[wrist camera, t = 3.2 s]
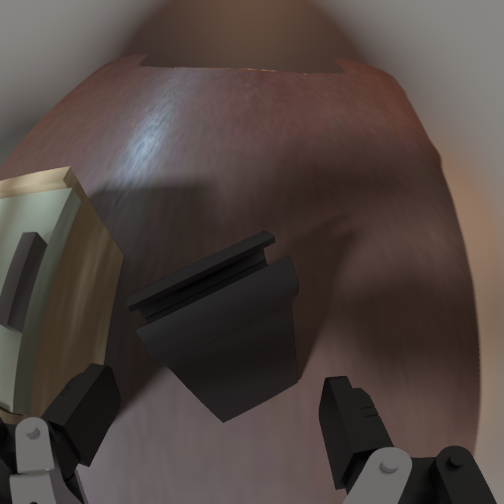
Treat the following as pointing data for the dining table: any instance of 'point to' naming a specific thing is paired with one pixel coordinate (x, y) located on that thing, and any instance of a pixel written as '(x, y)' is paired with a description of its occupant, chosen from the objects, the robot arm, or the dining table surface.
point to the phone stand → (225, 326)
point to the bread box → (51, 289)
